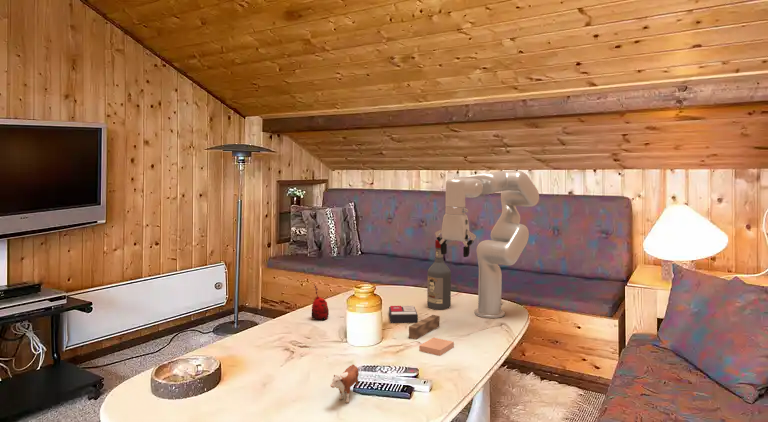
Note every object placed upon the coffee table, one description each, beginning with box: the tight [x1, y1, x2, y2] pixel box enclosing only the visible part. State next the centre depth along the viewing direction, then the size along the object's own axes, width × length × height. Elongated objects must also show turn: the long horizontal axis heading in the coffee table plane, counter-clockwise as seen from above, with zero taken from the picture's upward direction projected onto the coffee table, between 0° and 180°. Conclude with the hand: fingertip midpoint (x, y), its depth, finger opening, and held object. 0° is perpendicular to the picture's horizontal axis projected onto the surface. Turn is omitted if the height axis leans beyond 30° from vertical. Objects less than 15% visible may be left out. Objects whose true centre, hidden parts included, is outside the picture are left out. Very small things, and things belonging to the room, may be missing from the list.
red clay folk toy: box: [311, 284, 330, 321], centre depth 212 cm, size 8×7×15 cm
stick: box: [408, 314, 440, 340], centre depth 195 cm, size 18×3×4 cm, turn 146°
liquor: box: [426, 239, 452, 311], centre depth 228 cm, size 9×9×30 cm
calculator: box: [388, 305, 419, 324], centre depth 214 cm, size 11×4×15 cm
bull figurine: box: [330, 364, 360, 404], centre depth 140 cm, size 4×13×8 cm, turn 159°
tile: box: [418, 337, 455, 356], centre depth 177 cm, size 2×8×10 cm
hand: (454, 255), depth 199 cm, fingers open, 9 cm apart
